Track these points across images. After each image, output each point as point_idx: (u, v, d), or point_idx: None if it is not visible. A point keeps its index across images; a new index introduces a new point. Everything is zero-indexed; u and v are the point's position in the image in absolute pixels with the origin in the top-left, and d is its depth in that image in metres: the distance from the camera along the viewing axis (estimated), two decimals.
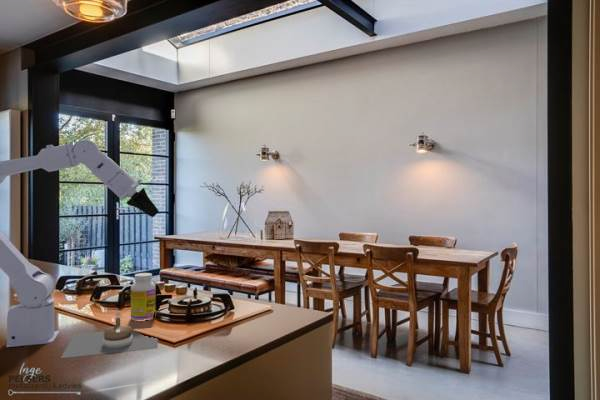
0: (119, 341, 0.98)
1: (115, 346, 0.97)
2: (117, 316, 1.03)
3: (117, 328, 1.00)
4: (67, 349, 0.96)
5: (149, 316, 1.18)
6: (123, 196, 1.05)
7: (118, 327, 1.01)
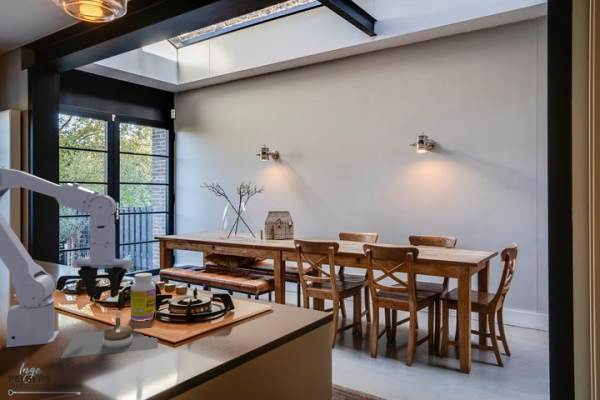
0: (119, 341, 0.98)
1: (115, 346, 0.97)
2: (117, 316, 1.03)
3: (117, 328, 1.00)
4: (67, 349, 0.96)
5: (149, 316, 1.18)
6: (110, 263, 1.04)
7: (118, 327, 1.01)
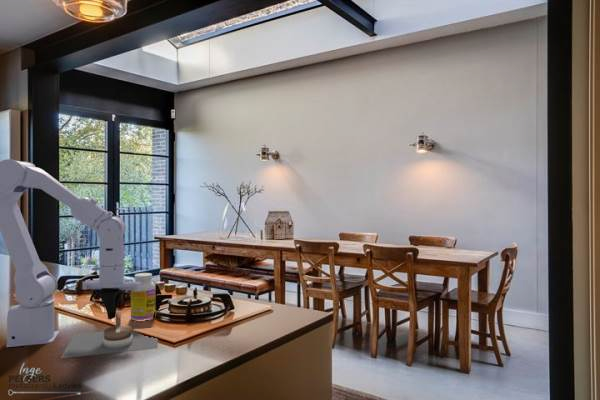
0: (119, 341, 0.98)
1: (115, 346, 0.97)
2: (117, 316, 1.03)
3: (117, 328, 1.00)
4: (67, 349, 0.96)
5: (149, 316, 1.18)
6: (119, 286, 1.04)
7: (118, 327, 1.01)
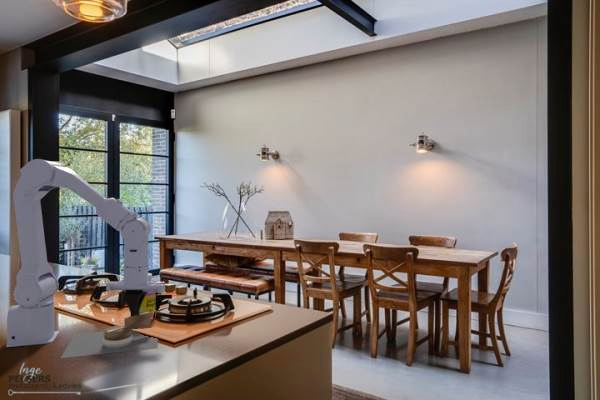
0: (119, 341, 0.98)
1: (115, 346, 0.97)
2: (130, 316, 1.03)
3: (118, 328, 1.01)
4: (67, 349, 0.96)
5: None
6: (144, 287, 1.03)
7: (121, 327, 1.01)
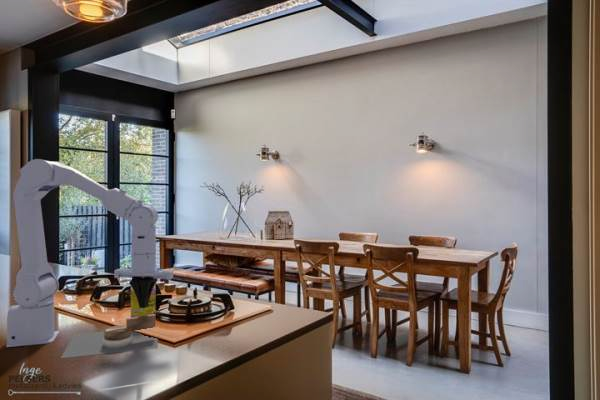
0: (119, 341, 0.98)
1: (115, 346, 0.97)
2: None
3: (118, 328, 1.01)
4: (67, 349, 0.96)
5: None
6: (152, 274, 1.03)
7: (121, 328, 1.01)
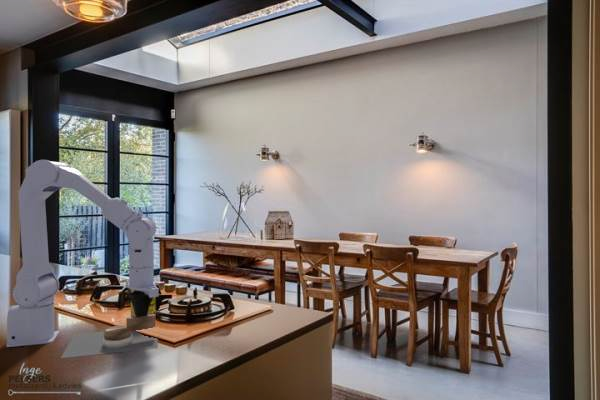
0: (119, 341, 0.98)
1: (115, 346, 0.97)
2: None
3: (118, 328, 1.01)
4: (67, 349, 0.96)
5: None
6: (139, 289, 1.01)
7: (121, 328, 1.01)
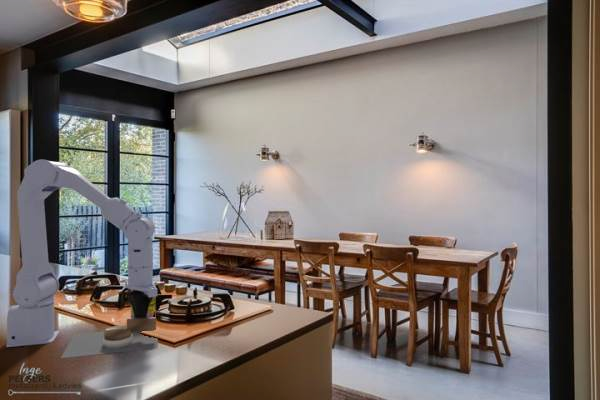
0: (119, 341, 0.98)
1: (115, 346, 0.97)
2: (132, 319, 1.01)
3: (118, 328, 1.01)
4: (67, 349, 0.96)
5: (149, 316, 1.18)
6: (137, 289, 1.01)
7: (121, 328, 1.01)
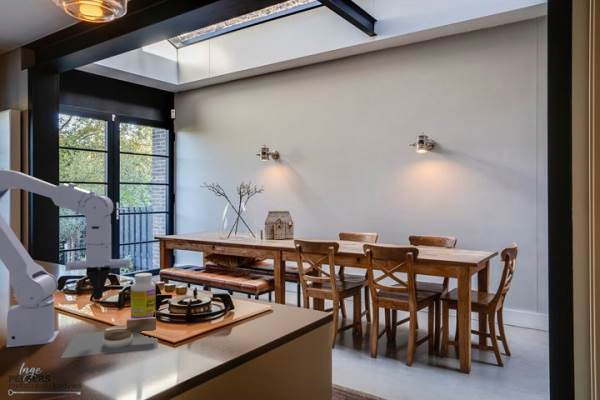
0: (119, 341, 0.98)
1: (115, 346, 0.97)
2: (132, 319, 1.01)
3: (118, 328, 1.01)
4: (67, 349, 0.96)
5: (149, 316, 1.18)
6: (112, 263, 1.04)
7: (121, 328, 1.01)
